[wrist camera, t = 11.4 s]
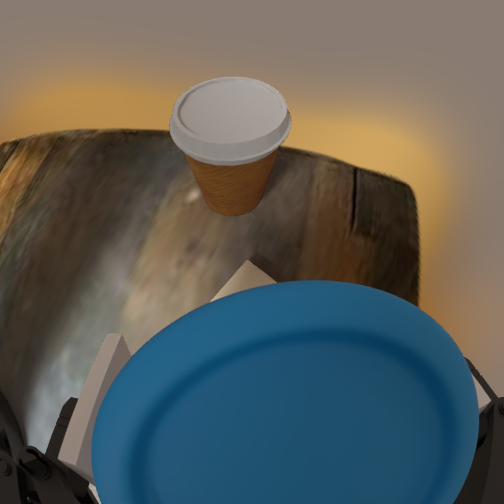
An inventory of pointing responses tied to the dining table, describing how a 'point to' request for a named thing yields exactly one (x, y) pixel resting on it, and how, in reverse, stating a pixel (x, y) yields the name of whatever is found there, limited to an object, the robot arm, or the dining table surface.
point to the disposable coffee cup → (230, 138)
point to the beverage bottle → (290, 404)
